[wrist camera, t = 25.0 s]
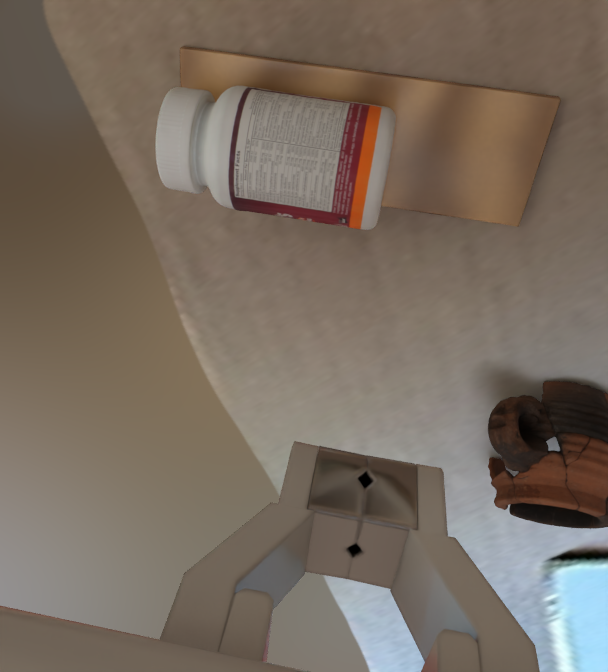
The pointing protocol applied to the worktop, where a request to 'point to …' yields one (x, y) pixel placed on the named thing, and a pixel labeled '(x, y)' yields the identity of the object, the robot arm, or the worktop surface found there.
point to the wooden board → (416, 129)
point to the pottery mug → (553, 456)
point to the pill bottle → (278, 153)
